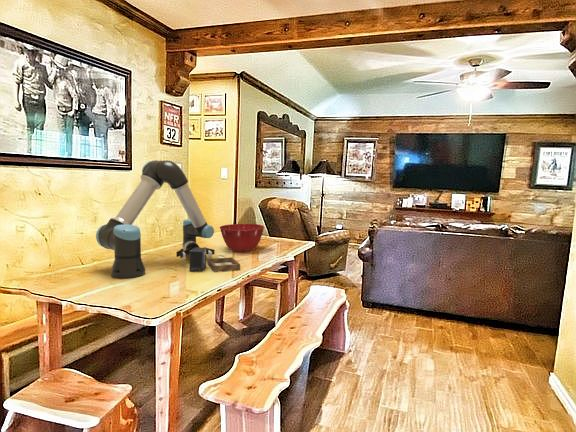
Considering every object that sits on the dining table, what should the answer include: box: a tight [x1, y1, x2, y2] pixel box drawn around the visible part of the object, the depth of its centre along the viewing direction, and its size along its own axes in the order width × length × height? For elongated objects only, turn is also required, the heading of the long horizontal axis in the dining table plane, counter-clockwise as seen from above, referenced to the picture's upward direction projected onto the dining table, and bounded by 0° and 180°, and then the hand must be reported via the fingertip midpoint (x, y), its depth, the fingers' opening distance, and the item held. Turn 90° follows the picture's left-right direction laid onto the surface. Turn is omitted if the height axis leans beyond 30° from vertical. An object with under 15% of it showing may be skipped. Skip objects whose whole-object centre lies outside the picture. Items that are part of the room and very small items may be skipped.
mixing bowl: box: [219, 223, 265, 253], centre depth 245 cm, size 28×28×15 cm
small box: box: [189, 246, 207, 273], centre depth 194 cm, size 11×6×10 cm, turn 179°
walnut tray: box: [207, 256, 241, 273], centre depth 200 cm, size 13×17×3 cm
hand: (198, 255), depth 199 cm, fingers open, 13 cm apart
